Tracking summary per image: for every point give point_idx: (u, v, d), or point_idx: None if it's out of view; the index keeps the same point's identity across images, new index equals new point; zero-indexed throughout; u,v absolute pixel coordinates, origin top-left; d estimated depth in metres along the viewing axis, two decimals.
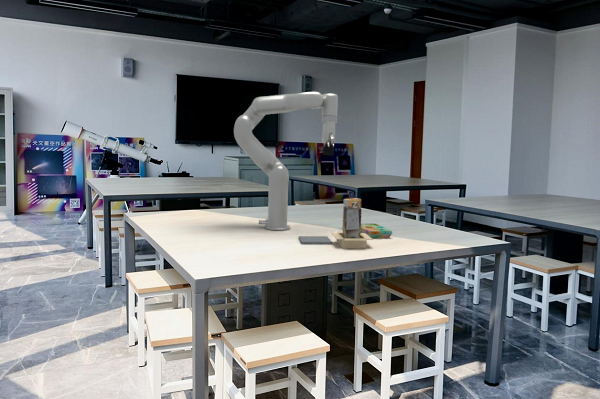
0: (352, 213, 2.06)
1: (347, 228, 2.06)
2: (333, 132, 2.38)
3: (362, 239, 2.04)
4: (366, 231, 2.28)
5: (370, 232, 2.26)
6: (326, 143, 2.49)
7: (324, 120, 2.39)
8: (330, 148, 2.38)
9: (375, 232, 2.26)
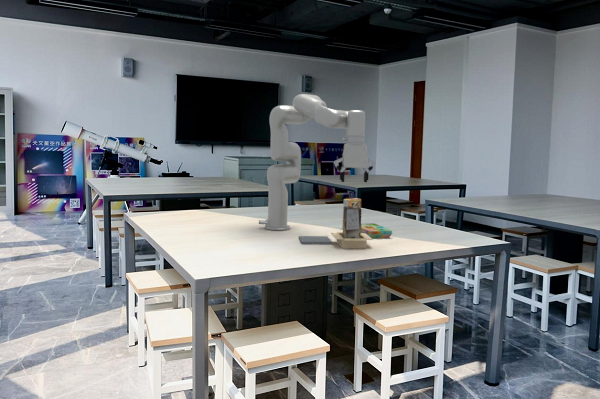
0: (352, 213, 2.06)
1: (347, 228, 2.06)
2: None
3: (362, 239, 2.04)
4: (366, 231, 2.28)
5: (370, 232, 2.26)
6: (340, 168, 2.07)
7: (362, 141, 2.04)
8: None
9: (375, 232, 2.26)
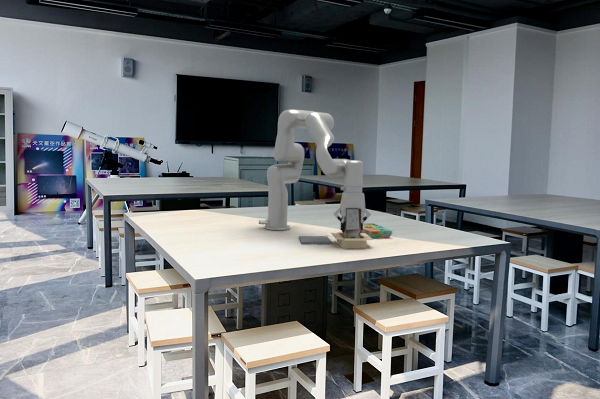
0: (352, 213, 2.06)
1: (347, 228, 2.06)
2: None
3: (362, 239, 2.04)
4: (366, 231, 2.27)
5: (370, 232, 2.26)
6: (341, 217, 2.10)
7: (360, 191, 2.06)
8: None
9: (375, 232, 2.26)
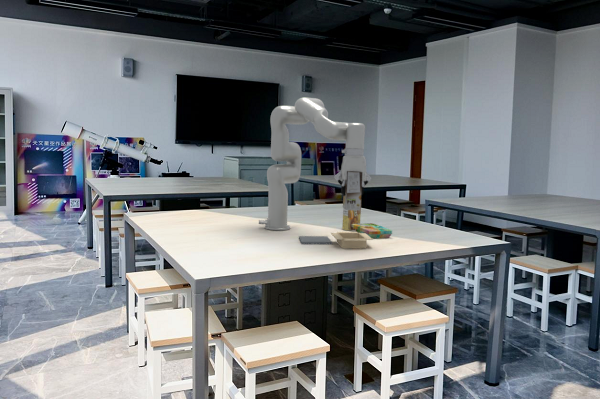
0: (353, 176, 2.04)
1: (348, 191, 2.05)
2: None
3: (362, 239, 2.04)
4: (366, 231, 2.27)
5: (371, 232, 2.26)
6: (342, 181, 2.08)
7: (361, 154, 2.05)
8: None
9: (375, 232, 2.26)
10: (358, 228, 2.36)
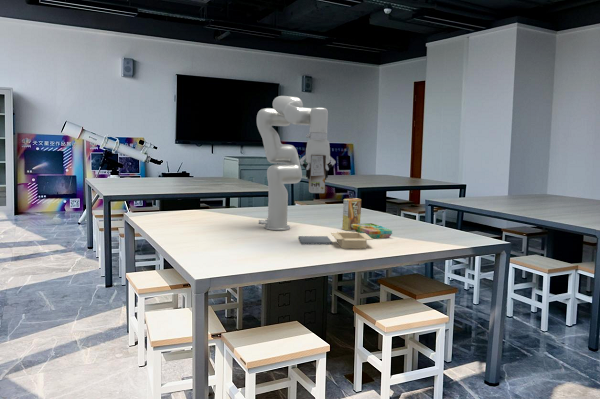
0: (316, 160, 2.09)
1: (312, 174, 2.09)
2: None
3: (362, 239, 2.04)
4: (367, 231, 2.27)
5: (371, 232, 2.26)
6: None
7: (324, 138, 2.09)
8: (327, 171, 2.14)
9: (376, 232, 2.26)
10: (358, 228, 2.36)
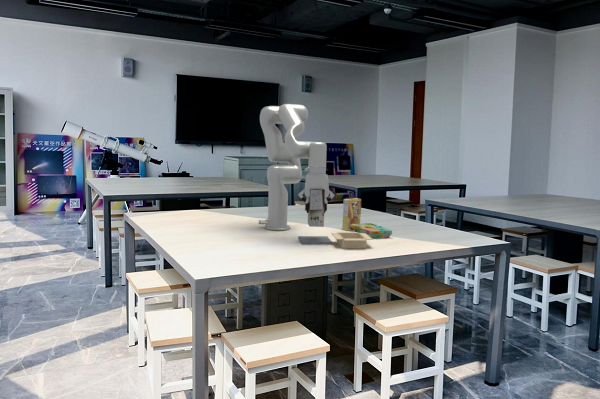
0: (315, 194, 2.10)
1: (311, 208, 2.11)
2: None
3: (362, 239, 2.04)
4: (367, 231, 2.27)
5: (371, 232, 2.26)
6: None
7: (323, 172, 2.11)
8: (326, 205, 2.15)
9: (376, 232, 2.26)
10: (358, 228, 2.36)
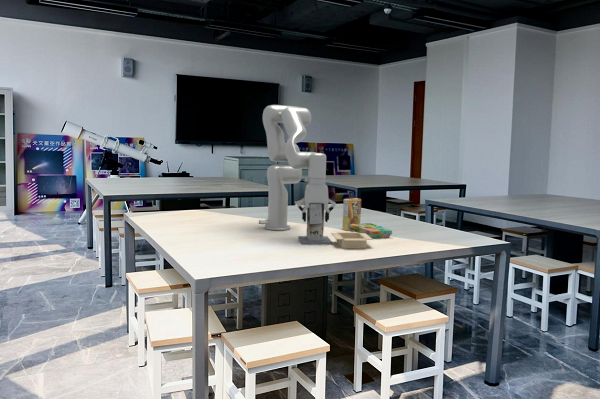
0: (315, 208, 2.11)
1: (310, 222, 2.12)
2: None
3: (362, 239, 2.04)
4: (367, 231, 2.27)
5: (371, 232, 2.26)
6: (302, 208, 2.15)
7: (323, 183, 2.12)
8: (328, 214, 2.16)
9: (376, 232, 2.26)
10: (357, 228, 2.36)
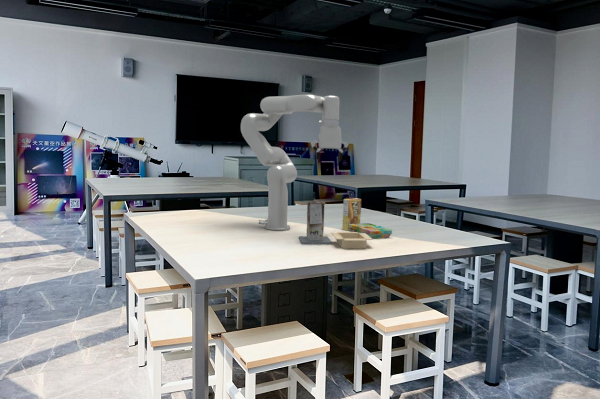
0: (315, 208, 2.11)
1: (310, 222, 2.12)
2: None
3: (362, 239, 2.04)
4: (367, 231, 2.27)
5: (372, 232, 2.26)
6: (317, 148, 2.27)
7: (336, 124, 2.24)
8: None
9: (376, 232, 2.27)
10: (357, 228, 2.36)
